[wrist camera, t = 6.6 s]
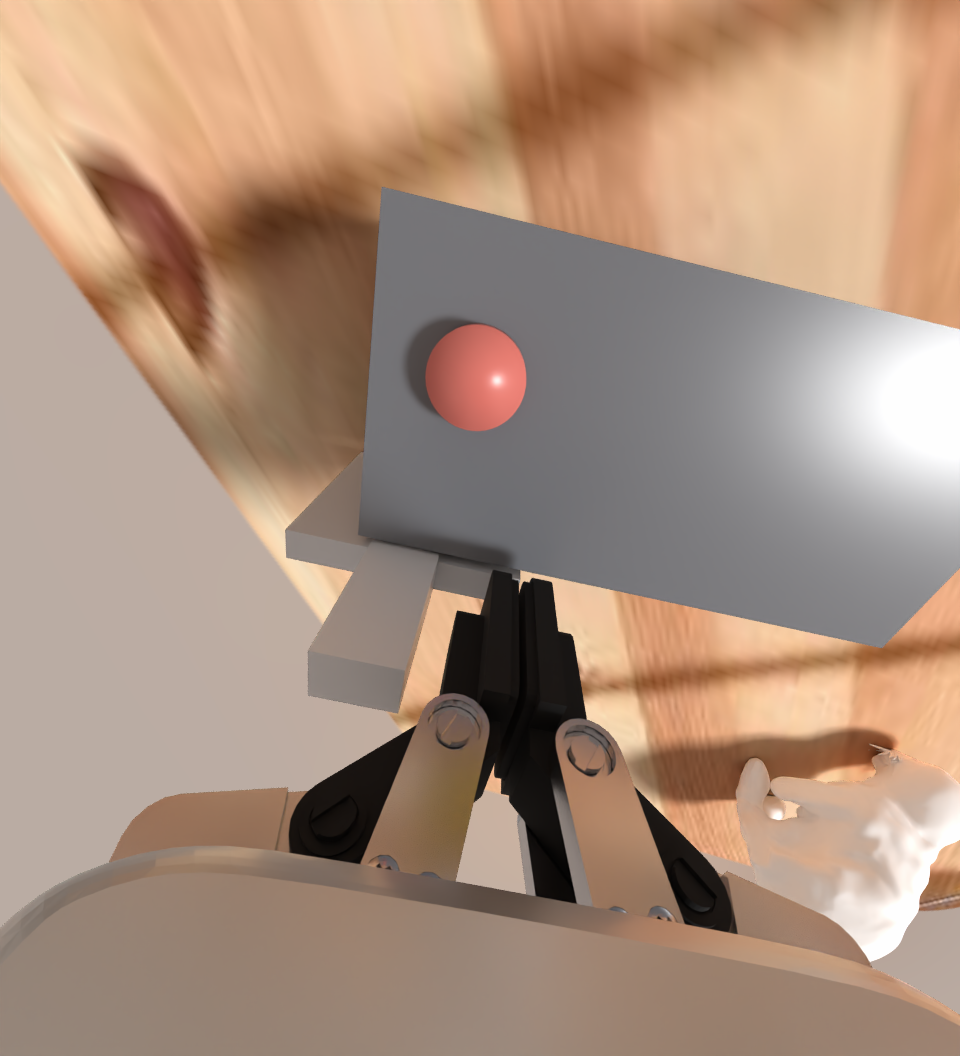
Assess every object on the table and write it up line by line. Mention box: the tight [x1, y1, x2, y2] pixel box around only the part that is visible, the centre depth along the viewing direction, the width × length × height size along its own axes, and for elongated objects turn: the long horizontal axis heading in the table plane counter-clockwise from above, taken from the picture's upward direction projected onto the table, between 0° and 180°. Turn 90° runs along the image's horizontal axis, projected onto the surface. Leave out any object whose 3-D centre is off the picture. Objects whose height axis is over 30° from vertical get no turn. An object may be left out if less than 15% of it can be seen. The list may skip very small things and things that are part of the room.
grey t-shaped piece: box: [285, 452, 520, 713], centre depth 14 cm, size 7×1×11 cm, turn 78°
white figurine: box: [736, 744, 960, 962], centre depth 23 cm, size 6×8×12 cm
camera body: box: [358, 187, 960, 648], centre depth 13 cm, size 18×8×8 cm, turn 78°
